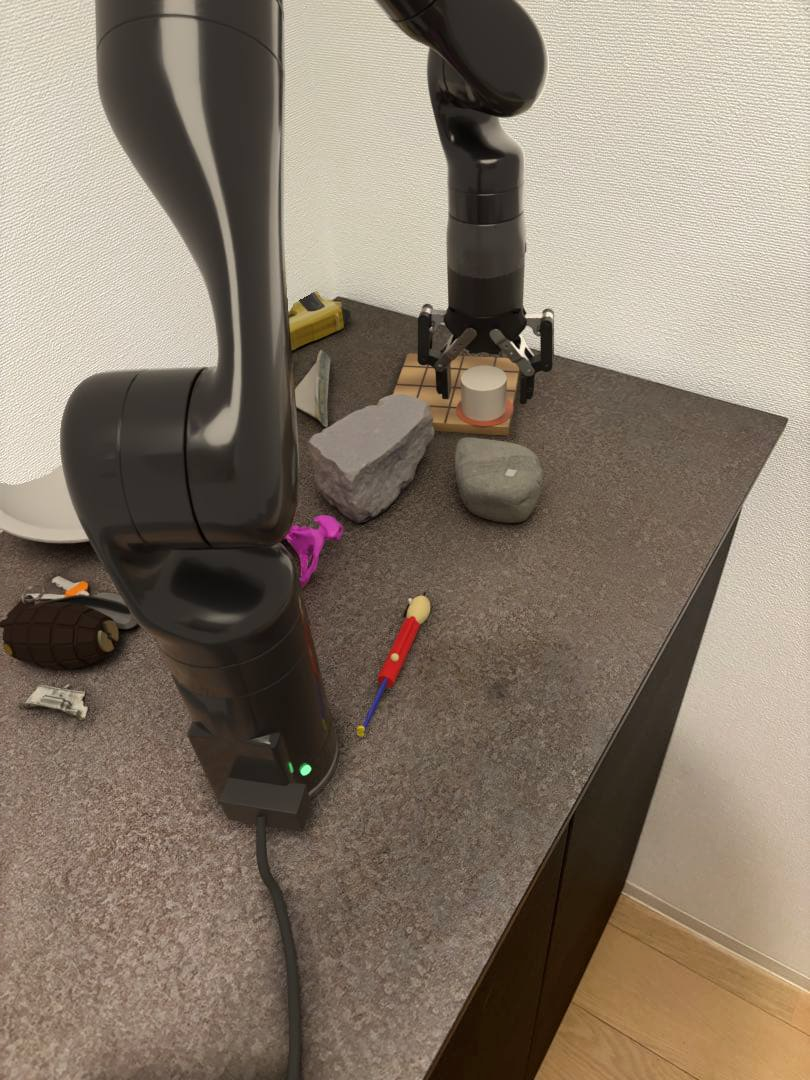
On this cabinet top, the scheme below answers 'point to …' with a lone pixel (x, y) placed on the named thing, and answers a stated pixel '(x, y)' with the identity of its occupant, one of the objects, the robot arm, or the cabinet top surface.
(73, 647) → the hand grenade
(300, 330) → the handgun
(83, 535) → the soup bowl
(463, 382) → the cream short cylinder
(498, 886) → the cabinet top surface
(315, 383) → the ceramic fragment
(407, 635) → the red screwdriver
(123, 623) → the key chain
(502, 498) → the stone
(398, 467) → the decorative stone
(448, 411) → the board
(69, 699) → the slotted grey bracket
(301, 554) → the pelvis
